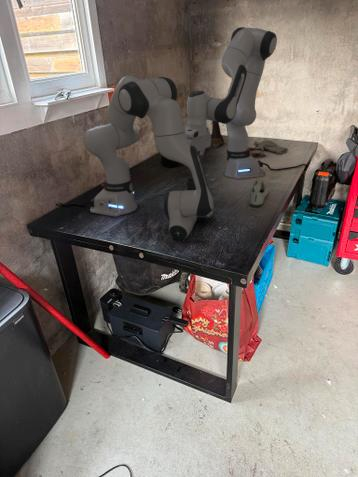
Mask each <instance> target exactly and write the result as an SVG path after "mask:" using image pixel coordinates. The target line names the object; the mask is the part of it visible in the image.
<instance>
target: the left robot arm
mask: <svg viewBox="0 0 358 477" xmlns="http://www.w3.org/2000/svg"><path fill="white" fill-rule="evenodd" d="M177 99H178V88H177V85H176V83H175V82H174V81H173V80H172V79H171V78H169V77H165V76H159V77H146V78H145V77H144V78H141V79H139V78H138V77H136V76H135V75H129V74H128V75H124V76H123V77H121V79H120V80H119V82H118V83H117V84H116V86H115V87H114V90H113V93H112V95H111V98H110V100H109V103H108V107H107V110H106V118H107V120H108V122H109V123H107V124H102V125H98V126H93V127H92V128H89V129H87V130H85V132H84V134H83V136H82V141H83V142H82V143H83V146H84V148H85V149H86V151H87V152H88V153H89V154H92V155H94V156H95V157H96V158H97V159H98V160H99V162H100V163H101V165H102V168H103V171H104V176H105V177H104V178H105V180H104V181H103V183H101V187H103V189H101V190H100V192H98V193H97V194H96V195H95V196H94V197H93V198H91V200H86V201H83V203H81V204H80V203H76V202H73V203H67V204H65V203H62V202H59V203H60V204H57V203H56V204H55V205H56V206H59V205H61V206H64V207H69V206H79V207H83V206H84V205H85V204H88V203H89V204H90V209H89V211H90V214H91V213H92V214H96V215H97V214H98V215H103V216H109V217H115V218H117V217H120V216H122V215H127V214H130V213H132V212H134V211H136V210H137V209H138V207H139V206H138V203H137V200H136V198H135V195H134V194H135V191H134V185H133V180H132V178H131V173H130V172H131V170H130V164H129V162H128V161H127V160H126V158H123V157H120V156H118V153H117V150H121V149H124V148H128V147H131V146H132V145H134V144H136V143H137V142H138V141H139V137H140V131H139V128H138V126H137V125H136V123H135V120H136V118H139V119H144V118H145V117H147V118H149V120H150V121H151V126H152V132H153V139H154V143H155V148H156V150H157V152H158V153H159V154H160V156H161V155H162V156H164V157H165V158H167V159H170V160H173V161H176V162H179V164H182V165H184V166H185V167H187V168H188V169H189V170H190V174H191V176H193V180H194V183H195V187H196V190H187V189H186V190H183V189H182V190H170V191H169V192H168V193H167V194H166V196H165V197H164V200H163V212H164V214H165V216H166V218H167V220H168V221H169V224H168V234H169V235H170V236H171V238H173V239H175V240H179V241H181V240H184V239H186V238H188V237H189V235H190V234H191V232H192V231H193V229H194V226H195V224H196V222H197V220H198V218H210V217H211V216H213V214H214V212H215V204H214V198H213V195H212V192H211V189H210V187H209V184H208V180H207V177H206V174H205V173H206V172H205V169H204V166H203V163H202V161H201V159H200V156H199V154H200V152H199V151H197V149H196V147H195V146H192V145H191V144H190V143H189V141H188V139H187V137H186V133H185V128H186V127H185V122H184V121H185V120H184V117H183V113H182V110H181V107H180V104H179V102H178V101H177Z"/></svg>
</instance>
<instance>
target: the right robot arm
mask: <svg viewBox="0 0 358 477" xmlns="http://www.w3.org/2000/svg"><path fill="white" fill-rule="evenodd" d="M277 44H278V37H277V34H276V33H275V32H273V31H271V30H265V29H262V28H257V27H254V28H253V27H245V26H241V27H237V28H236V29H234V31H232V34H231V36H230V41H229V44H228V45H227V47H226V49H225V51H224V52H223V55H222V58H221V61H220V62H221V68H222V70H223V72H224V74H226V75H227V76H228V77H229V78H230V79H231V82H230V84H229V87H228V90H227V94H226V95H225V97H223V98H217V97H212V96H210V95H208V94H207V93H206V92H205V91H204V90H195V91H192V92H190V93H189V94H188V96H187V100H186V115H187V121H186V124H187V125H186V127H185V133H186V137H187V139H188V141H189V143H190V144H191V145H192V146H195V147H196V149H197V151H198V152H199V154H200V155H203V156H204V154H205V150H206V149H207V148H210V147H211V144H212V136H211V132H210V129H209V127H208V123H207V121H211V122H212V121H216V122H219V124H223V125H225V128H226V135H227V149H226V152H225V153H226V154H225V159H226V165H225V169H224V172H223V174H224V176H225V177H228V178H232V179H233V178H234V179H237V180H243V179H250V178H258V177H259V178H260V177H263V176H264V175H265V172H264V169H262V168H263V167H264V166H266V167H267V168H268V170H270V171H276V172H277V171H285V170H291V169H297V168H299V167H303V166H305V167H306V168H309V165H308V164H306V163H301V164H298V165H293V166H289V167H281V168H272V167H271V166H270V165H269V164H267V163H266V162H263V161H261V160H259V159H258V160H257V159H256V158H255V157H254V156H253V157H252V156H250V155H252V154H253V152H252V151H251V150H249V149H247V147H249V144H248V142H249V134H248V131H247V128H246V127H249V126H251V125H252V124H253V123H254V122H255V121H256V119H257V110H256V100H257V92H258V89H259V87H260V82H261V80H262V76H263V73H264V69H265V64H266V61H267V59H268V58H270V57H271V56H272V55H273V54H274V53H275V51H276V47H277Z"/></svg>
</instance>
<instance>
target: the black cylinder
mask: <svg viewBox="0 0 358 477" xmlns="http://www.w3.org/2000/svg"><path fill="white" fill-rule="evenodd" d="M186 190H196V187H195V183H194V180H193V176H192V175H188V177H187V180H186Z"/></svg>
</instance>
